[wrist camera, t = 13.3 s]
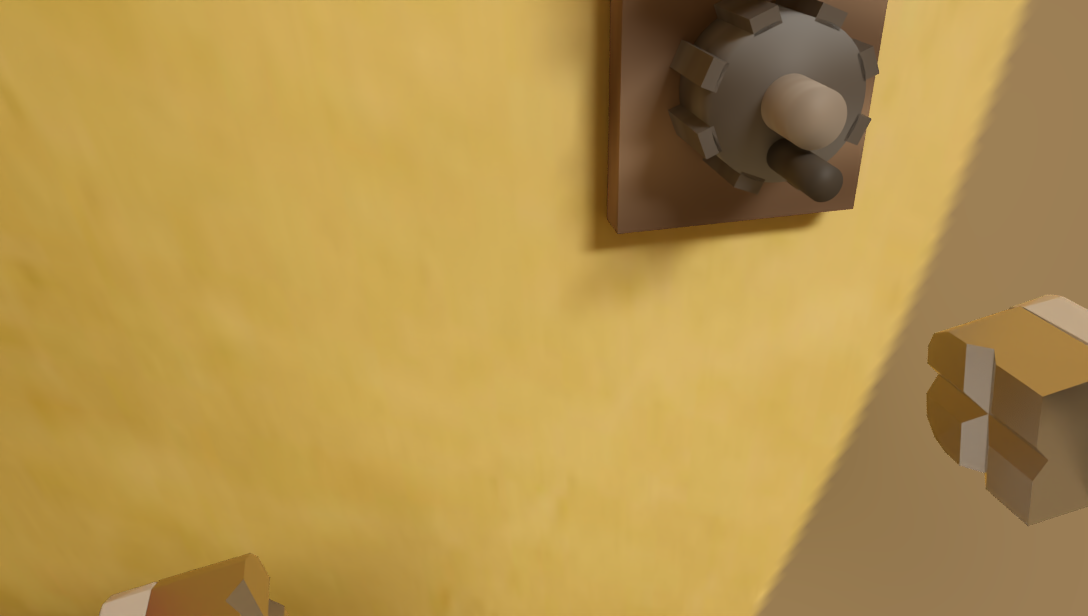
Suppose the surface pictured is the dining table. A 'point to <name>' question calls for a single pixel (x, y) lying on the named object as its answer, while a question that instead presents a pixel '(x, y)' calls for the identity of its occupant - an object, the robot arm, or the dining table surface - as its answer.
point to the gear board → (673, 162)
